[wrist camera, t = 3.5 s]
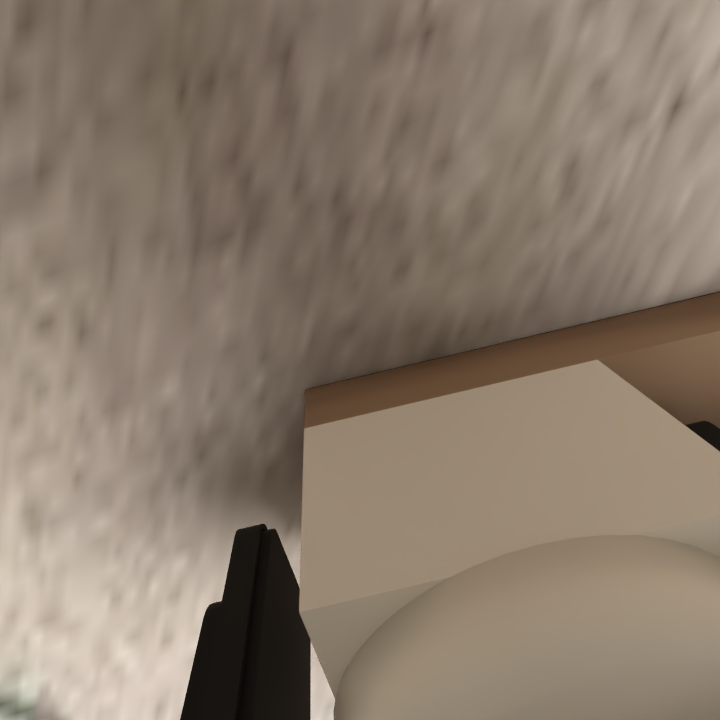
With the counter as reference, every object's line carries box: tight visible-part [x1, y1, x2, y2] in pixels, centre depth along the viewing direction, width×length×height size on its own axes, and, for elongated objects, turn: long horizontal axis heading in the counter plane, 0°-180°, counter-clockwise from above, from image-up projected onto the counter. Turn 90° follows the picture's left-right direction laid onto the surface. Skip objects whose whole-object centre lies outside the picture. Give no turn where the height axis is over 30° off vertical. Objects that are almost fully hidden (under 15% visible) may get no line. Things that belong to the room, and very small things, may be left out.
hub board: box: [304, 292, 720, 428], centre depth 12 cm, size 18×12×5 cm, turn 12°
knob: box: [299, 360, 720, 720], centre depth 8 cm, size 6×6×6 cm
